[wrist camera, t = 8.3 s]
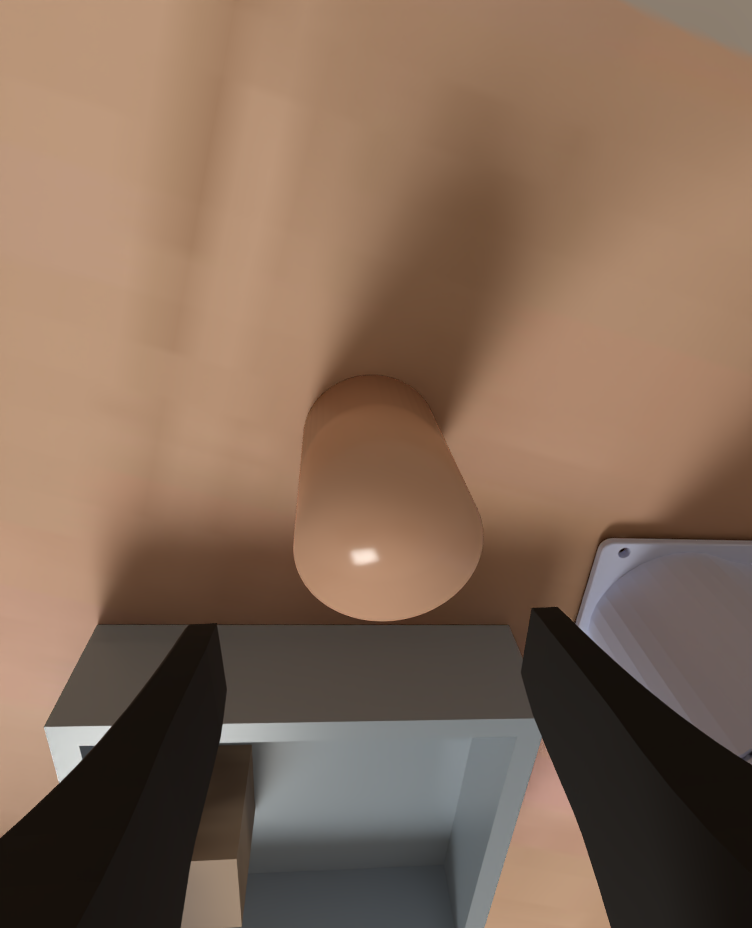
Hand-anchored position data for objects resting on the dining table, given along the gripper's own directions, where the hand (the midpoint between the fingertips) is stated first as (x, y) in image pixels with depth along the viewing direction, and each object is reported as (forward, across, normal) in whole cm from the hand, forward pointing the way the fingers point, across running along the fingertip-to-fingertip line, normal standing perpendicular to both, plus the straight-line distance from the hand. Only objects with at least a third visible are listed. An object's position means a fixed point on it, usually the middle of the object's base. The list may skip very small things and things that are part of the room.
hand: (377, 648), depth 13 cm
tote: (+9, +3, +17) cm, 19 cm away
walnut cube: (+8, +8, +16) cm, 20 cm away
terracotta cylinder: (+10, 0, -1) cm, 10 cm away
